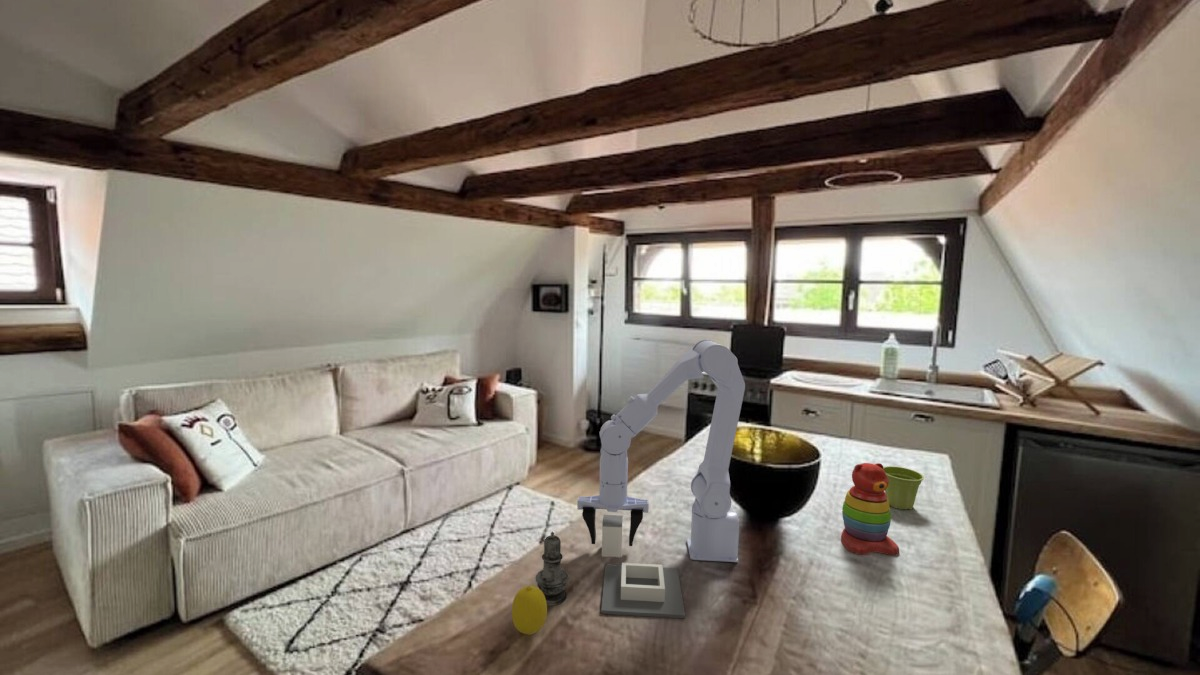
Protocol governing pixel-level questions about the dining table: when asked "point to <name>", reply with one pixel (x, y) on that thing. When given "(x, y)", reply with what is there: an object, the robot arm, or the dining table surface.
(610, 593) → the socket base
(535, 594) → the lemon
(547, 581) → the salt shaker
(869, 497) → the stacking bear
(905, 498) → the plant pot
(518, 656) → the dining table surface
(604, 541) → the plug
